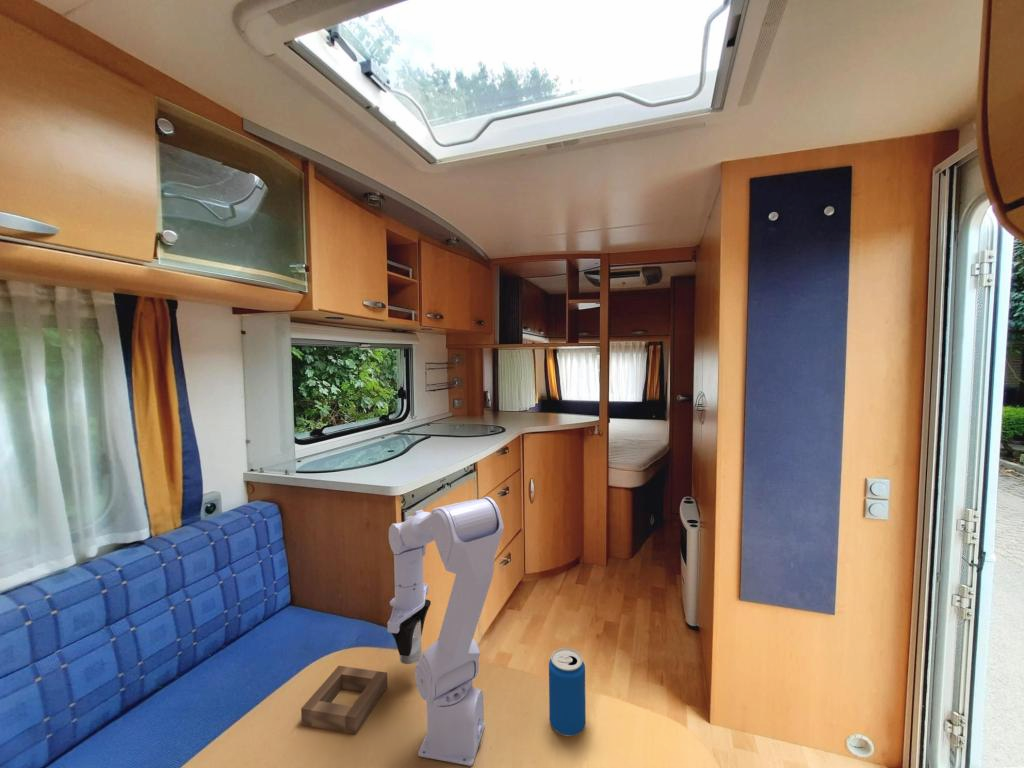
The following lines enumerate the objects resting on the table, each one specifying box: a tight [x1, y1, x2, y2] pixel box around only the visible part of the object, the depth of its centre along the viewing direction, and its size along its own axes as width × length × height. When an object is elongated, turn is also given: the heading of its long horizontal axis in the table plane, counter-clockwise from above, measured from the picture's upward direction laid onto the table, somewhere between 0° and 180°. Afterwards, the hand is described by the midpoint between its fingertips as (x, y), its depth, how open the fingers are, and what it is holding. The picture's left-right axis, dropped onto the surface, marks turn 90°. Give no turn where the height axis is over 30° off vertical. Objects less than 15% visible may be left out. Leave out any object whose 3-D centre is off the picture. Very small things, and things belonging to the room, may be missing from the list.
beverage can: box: [548, 647, 587, 737], centre depth 72 cm, size 6×6×12 cm
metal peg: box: [398, 616, 423, 665], centre depth 82 cm, size 4×4×7 cm
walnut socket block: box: [300, 665, 388, 735], centre depth 77 cm, size 11×11×3 cm
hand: (410, 646), depth 82 cm, fingers closed on metal peg, 4 cm apart
